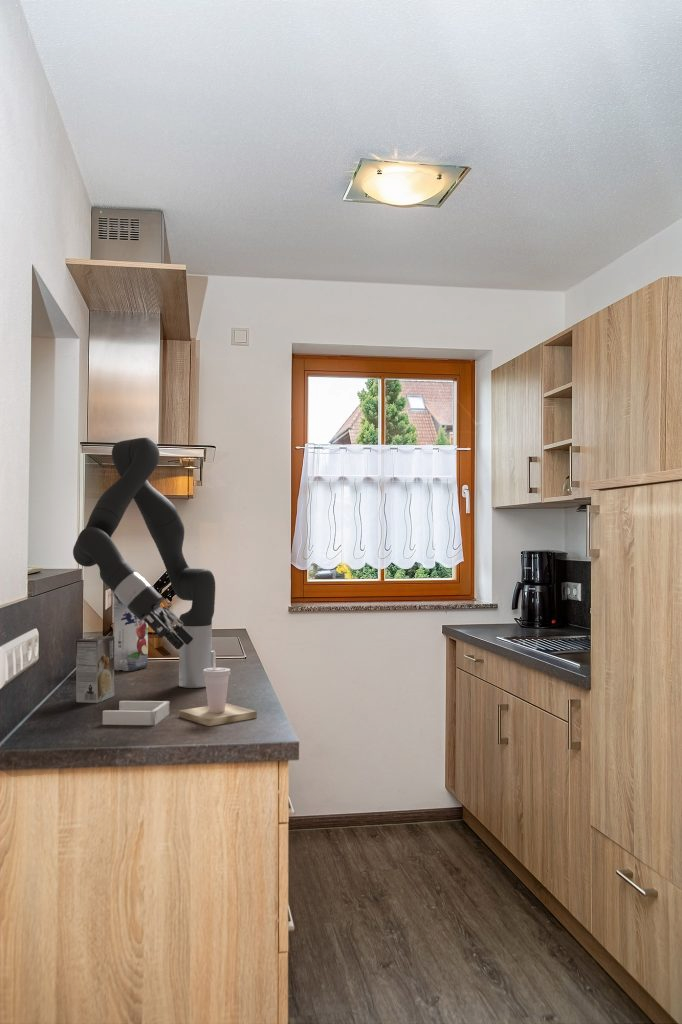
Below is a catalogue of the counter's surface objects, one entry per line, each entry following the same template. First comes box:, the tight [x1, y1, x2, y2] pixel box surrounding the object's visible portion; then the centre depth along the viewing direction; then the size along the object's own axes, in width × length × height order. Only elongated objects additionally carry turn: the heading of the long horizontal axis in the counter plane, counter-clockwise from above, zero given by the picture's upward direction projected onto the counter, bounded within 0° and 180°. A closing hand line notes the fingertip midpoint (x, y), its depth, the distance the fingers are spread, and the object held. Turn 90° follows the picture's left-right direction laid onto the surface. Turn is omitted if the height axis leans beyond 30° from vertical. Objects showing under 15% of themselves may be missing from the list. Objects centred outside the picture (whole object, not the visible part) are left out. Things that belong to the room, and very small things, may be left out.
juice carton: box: [112, 591, 149, 672], centre depth 265 cm, size 9×10×27 cm
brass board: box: [178, 702, 258, 727], centre depth 193 cm, size 13×13×2 cm
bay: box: [102, 700, 171, 726], centre depth 191 cm, size 12×12×3 cm
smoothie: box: [203, 650, 231, 713], centre depth 193 cm, size 6×6×14 cm
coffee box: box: [75, 635, 115, 704], centre depth 215 cm, size 9×6×16 cm
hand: (186, 644), depth 194 cm, fingers open, 8 cm apart
